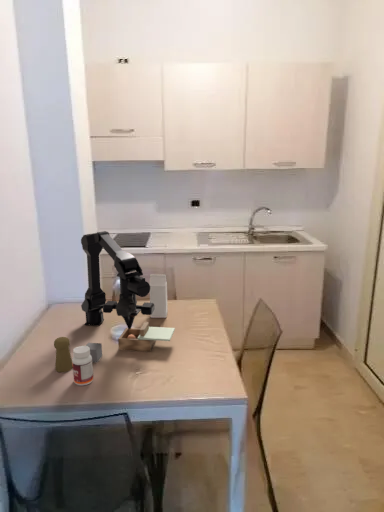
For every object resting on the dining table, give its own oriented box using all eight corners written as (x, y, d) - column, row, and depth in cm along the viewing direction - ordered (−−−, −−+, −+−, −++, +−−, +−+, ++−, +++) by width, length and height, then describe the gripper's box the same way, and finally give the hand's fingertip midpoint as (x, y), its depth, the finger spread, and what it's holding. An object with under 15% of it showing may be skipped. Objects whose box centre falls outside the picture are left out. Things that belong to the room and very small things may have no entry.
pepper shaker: (77, 365, 143) (74, 336, 140) (65, 374, 137) (62, 344, 135) (63, 362, 145) (60, 333, 142) (51, 370, 140) (48, 340, 137)
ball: (126, 344, 156) (125, 336, 156) (128, 340, 159) (128, 332, 159) (134, 344, 156) (134, 336, 155) (136, 340, 159) (136, 333, 158)
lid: (137, 339, 151) (137, 331, 150) (144, 328, 161) (144, 320, 160) (169, 341, 150) (169, 333, 149) (174, 329, 159) (174, 322, 158)
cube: (83, 361, 145) (82, 349, 144) (89, 355, 150) (88, 342, 149) (97, 362, 145) (96, 349, 143) (102, 355, 149) (101, 343, 148)
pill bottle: (70, 380, 134) (68, 348, 131) (88, 373, 137) (86, 342, 134) (79, 388, 129) (76, 355, 126) (96, 381, 133) (94, 349, 130)
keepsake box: (118, 349, 154) (118, 338, 152) (126, 338, 163) (126, 327, 162) (150, 351, 152) (149, 340, 151) (156, 339, 161) (155, 329, 160)
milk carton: (166, 317, 182) (165, 277, 178) (150, 317, 183) (148, 277, 178) (167, 311, 189) (166, 272, 185) (152, 311, 189) (150, 272, 185)
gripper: (96, 296, 146) (98, 336, 150) (147, 298, 144) (148, 339, 148) (106, 286, 157) (109, 323, 161) (154, 288, 154) (155, 326, 158)
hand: (129, 328), depth 157 cm, fingers closed
